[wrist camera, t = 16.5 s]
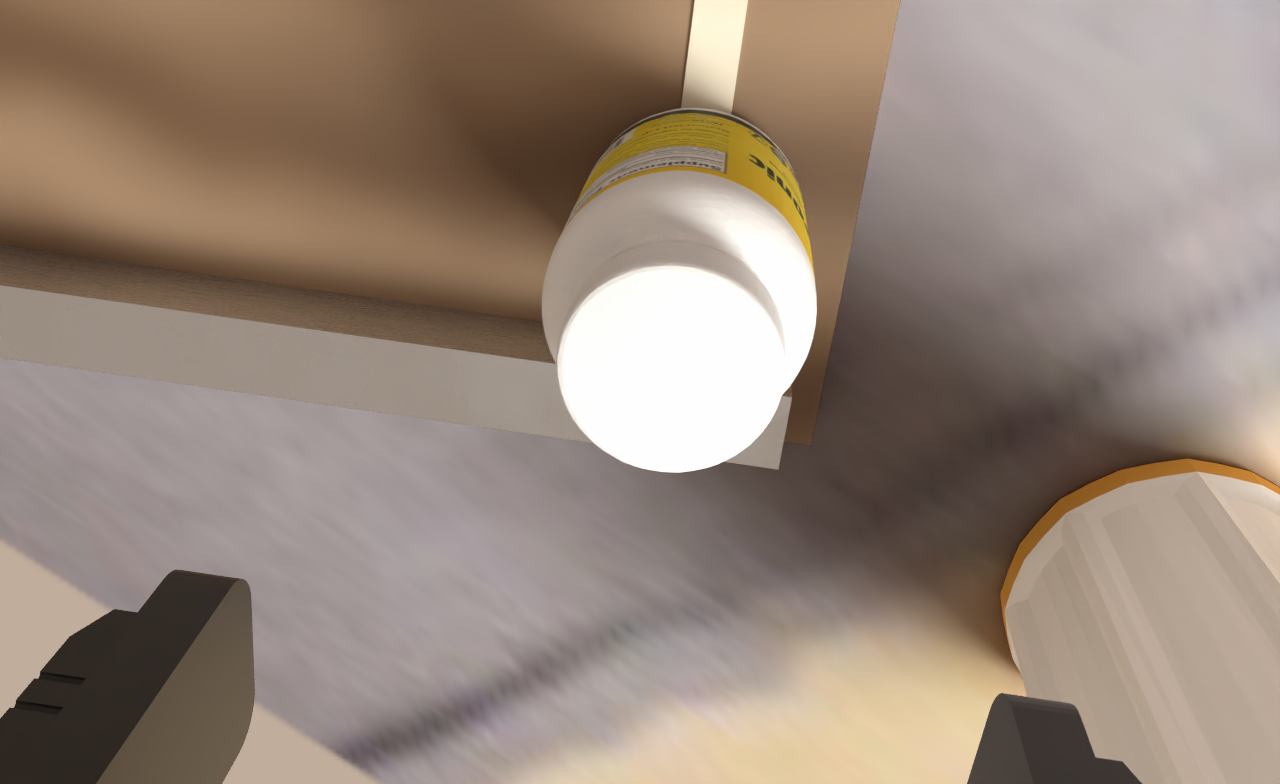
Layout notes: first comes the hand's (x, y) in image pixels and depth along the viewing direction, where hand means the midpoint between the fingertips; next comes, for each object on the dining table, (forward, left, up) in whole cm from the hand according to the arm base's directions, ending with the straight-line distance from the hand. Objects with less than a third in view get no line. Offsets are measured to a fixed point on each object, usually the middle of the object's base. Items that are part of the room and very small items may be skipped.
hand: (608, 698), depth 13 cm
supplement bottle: (0, 0, -18) cm, 18 cm away
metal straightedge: (+5, -10, -18) cm, 21 cm away
